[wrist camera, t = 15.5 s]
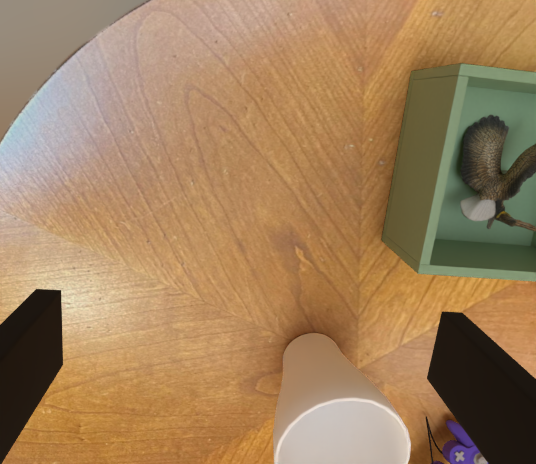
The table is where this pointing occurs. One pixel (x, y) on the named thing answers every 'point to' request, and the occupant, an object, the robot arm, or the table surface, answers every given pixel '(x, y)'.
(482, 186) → the eagle figurine
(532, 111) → the bin
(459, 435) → the game controller
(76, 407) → the table surface
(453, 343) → the robot arm
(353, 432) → the cup
